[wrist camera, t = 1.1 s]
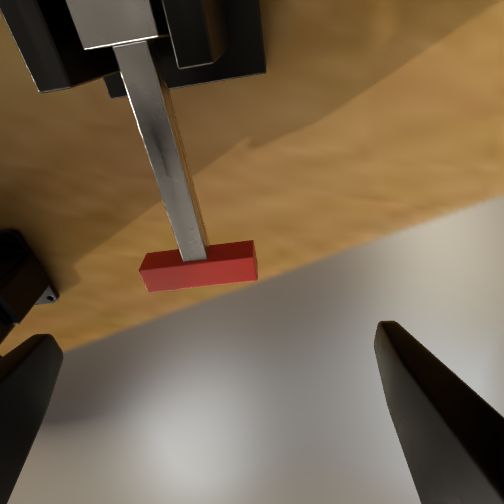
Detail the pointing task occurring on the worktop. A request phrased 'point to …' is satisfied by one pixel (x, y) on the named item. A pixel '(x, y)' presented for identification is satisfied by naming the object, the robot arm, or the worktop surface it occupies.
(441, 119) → the worktop surface
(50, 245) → the worktop surface
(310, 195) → the worktop surface
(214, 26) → the toaster bracket
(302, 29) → the worktop surface
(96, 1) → the lever
